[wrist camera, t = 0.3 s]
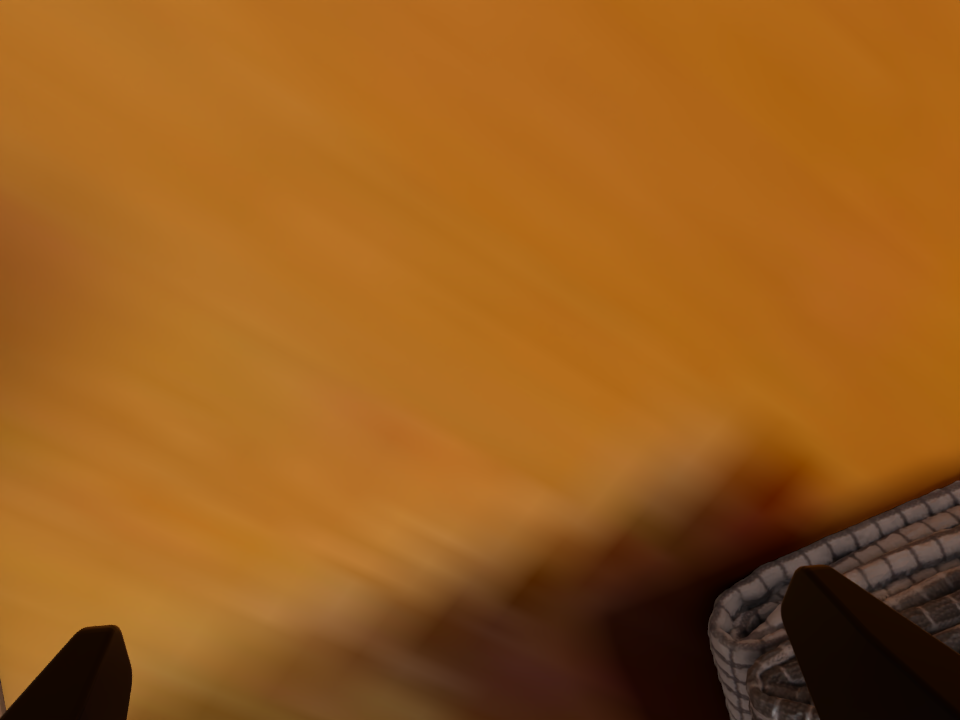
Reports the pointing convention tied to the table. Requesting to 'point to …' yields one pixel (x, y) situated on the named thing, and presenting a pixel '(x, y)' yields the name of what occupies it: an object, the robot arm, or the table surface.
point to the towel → (864, 560)
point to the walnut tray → (2, 702)
